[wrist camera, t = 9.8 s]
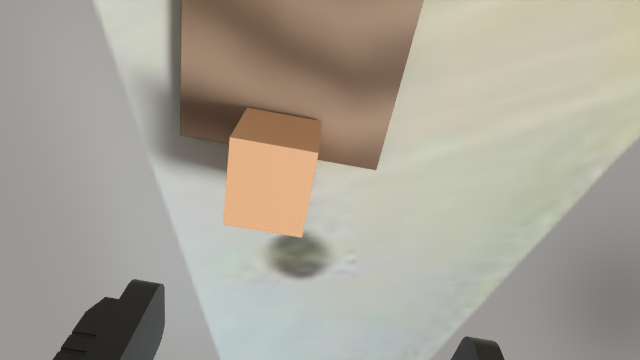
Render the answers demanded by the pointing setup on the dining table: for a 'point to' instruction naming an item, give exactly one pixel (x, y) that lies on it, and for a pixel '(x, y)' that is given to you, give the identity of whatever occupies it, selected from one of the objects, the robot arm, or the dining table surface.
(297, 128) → the light orange cube
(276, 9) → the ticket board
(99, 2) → the dining table surface
